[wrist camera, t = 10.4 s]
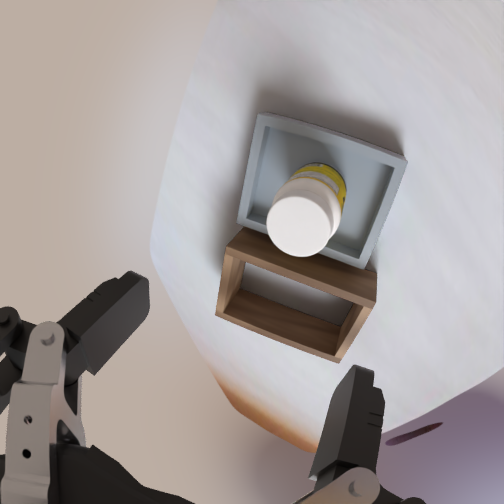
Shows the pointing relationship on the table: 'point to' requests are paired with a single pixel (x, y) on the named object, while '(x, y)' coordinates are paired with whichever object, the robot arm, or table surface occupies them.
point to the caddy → (287, 319)
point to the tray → (337, 155)
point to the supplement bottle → (307, 209)
